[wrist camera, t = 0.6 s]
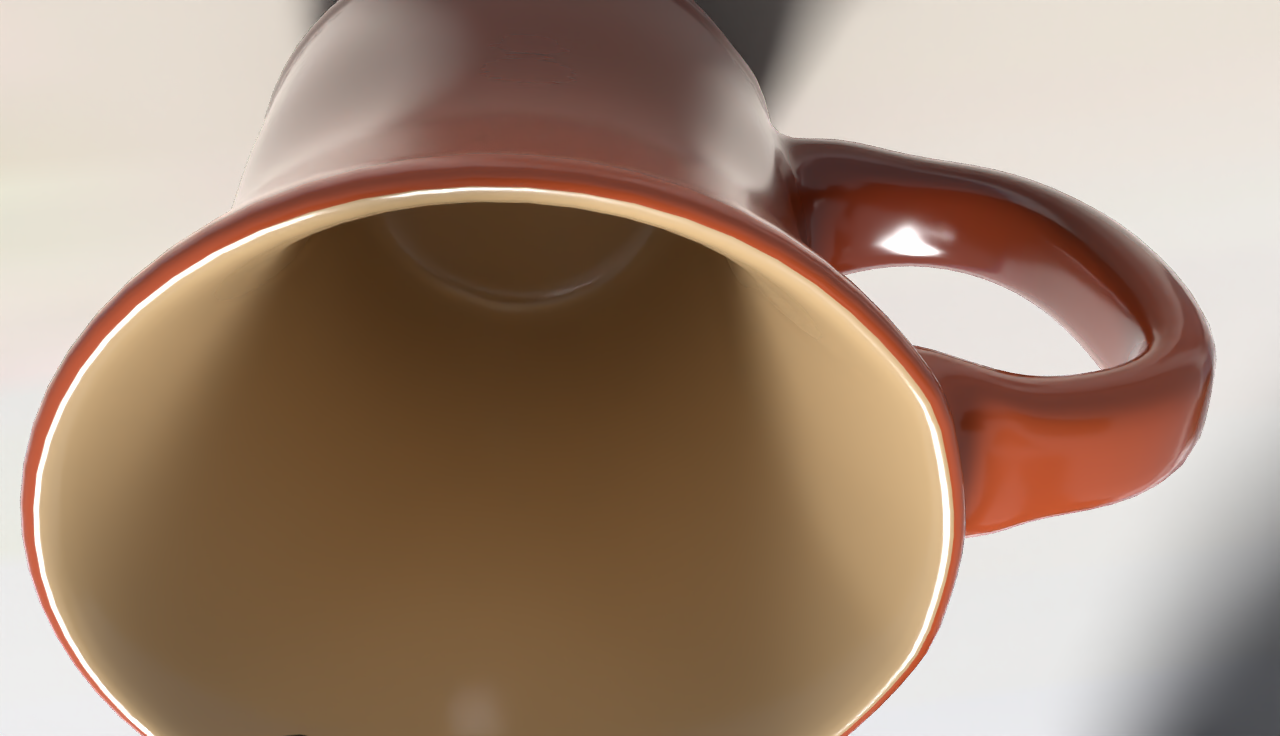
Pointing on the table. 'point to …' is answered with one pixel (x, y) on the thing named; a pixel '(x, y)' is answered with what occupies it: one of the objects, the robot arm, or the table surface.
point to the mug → (568, 400)
